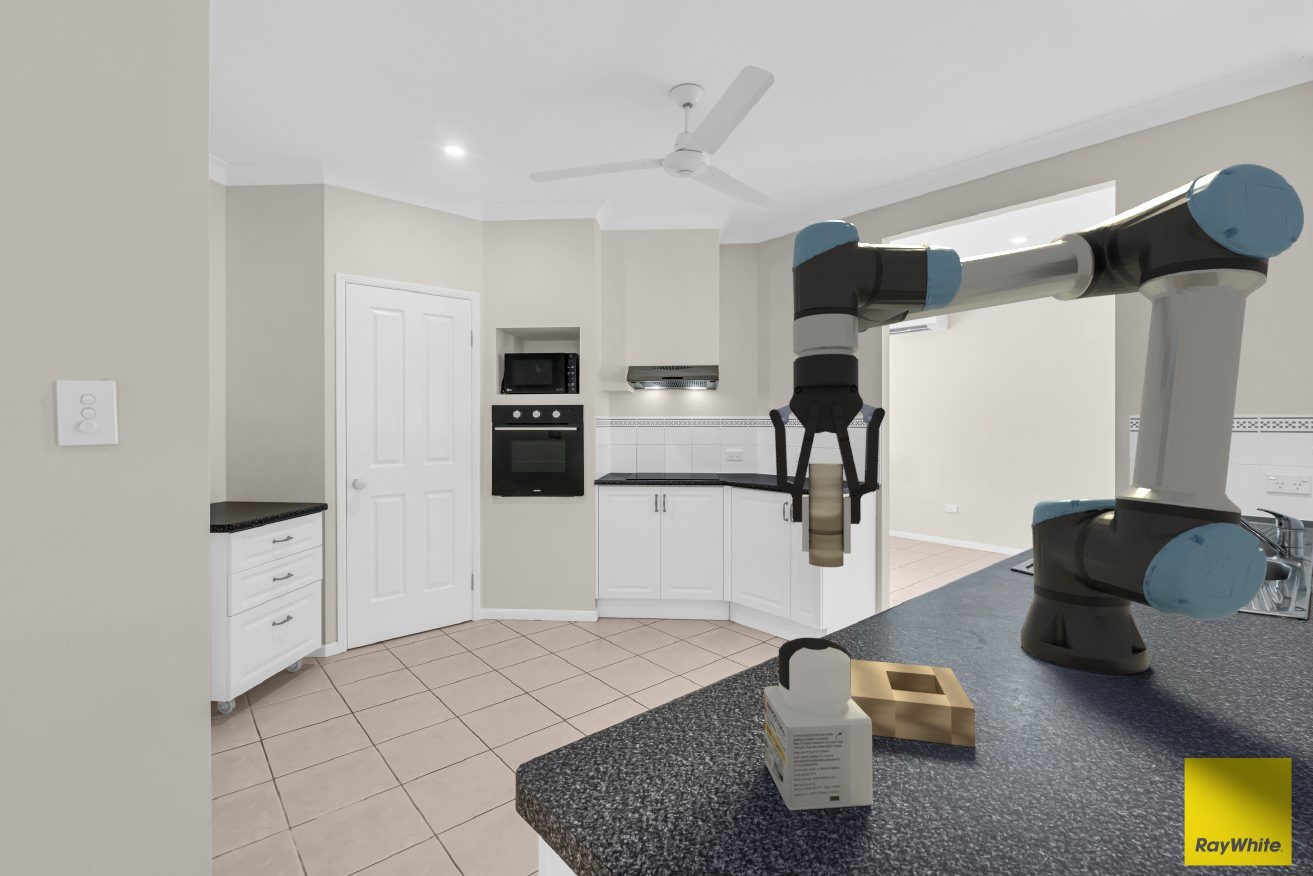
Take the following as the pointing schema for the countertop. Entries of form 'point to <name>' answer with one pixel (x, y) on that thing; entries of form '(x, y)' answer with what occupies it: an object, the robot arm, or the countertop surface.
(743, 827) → the countertop surface
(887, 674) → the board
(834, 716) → the container
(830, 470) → the peg
